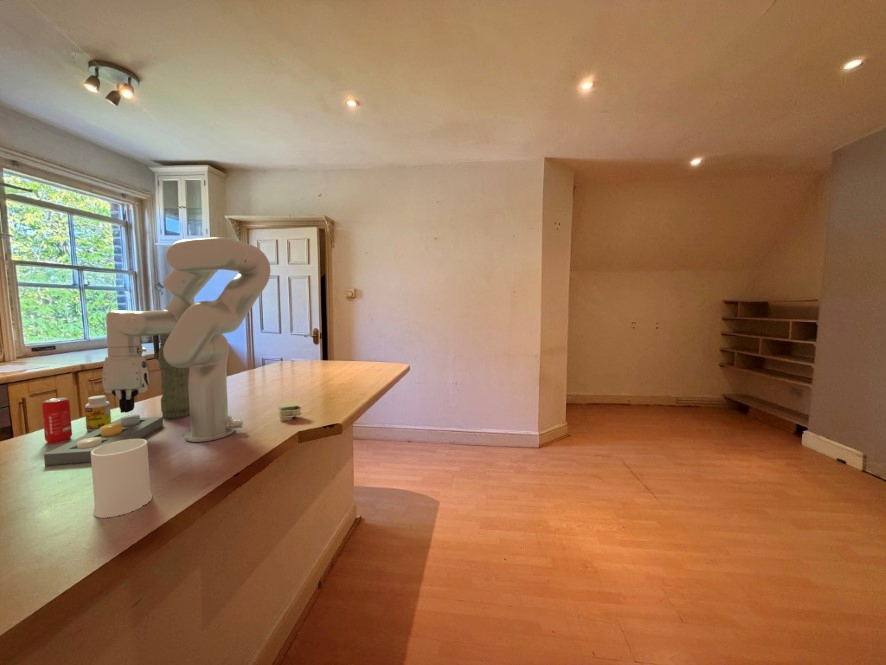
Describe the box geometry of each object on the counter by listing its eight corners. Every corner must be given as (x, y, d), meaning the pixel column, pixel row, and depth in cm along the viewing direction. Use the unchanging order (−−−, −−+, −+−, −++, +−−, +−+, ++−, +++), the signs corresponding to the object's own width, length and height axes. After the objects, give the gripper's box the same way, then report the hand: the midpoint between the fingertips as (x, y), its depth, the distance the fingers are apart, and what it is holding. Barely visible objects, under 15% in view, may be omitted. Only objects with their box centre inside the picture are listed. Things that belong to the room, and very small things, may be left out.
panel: (163, 425, 112) (162, 416, 111) (103, 461, 86) (102, 450, 86) (119, 428, 109) (118, 419, 109) (44, 466, 84) (43, 454, 83)
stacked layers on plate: (275, 426, 113) (274, 410, 113) (273, 418, 121) (272, 403, 120) (307, 421, 118) (307, 405, 118) (303, 414, 126) (303, 399, 125)
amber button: (126, 434, 100) (125, 422, 100) (115, 440, 96) (114, 428, 96) (108, 435, 99) (107, 423, 99) (96, 441, 95) (96, 429, 95)
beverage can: (54, 445, 96) (50, 402, 95) (40, 443, 97) (36, 401, 96) (77, 438, 101) (74, 398, 100) (63, 436, 102) (60, 396, 101)
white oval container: (108, 492, 73) (104, 437, 72) (159, 482, 77) (156, 430, 76) (85, 523, 62) (80, 459, 61) (146, 510, 67) (142, 450, 66)
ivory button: (106, 448, 92) (105, 436, 92) (93, 456, 88) (92, 443, 88) (86, 450, 91) (85, 437, 91) (73, 457, 87) (72, 444, 87)
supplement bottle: (81, 432, 105) (79, 399, 104) (95, 426, 111) (93, 395, 110) (103, 431, 107) (101, 398, 106) (115, 425, 112) (113, 394, 111)
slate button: (143, 424, 108) (143, 414, 108) (134, 429, 104) (133, 418, 103) (127, 425, 107) (126, 415, 107) (117, 430, 103) (116, 419, 102)
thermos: (163, 413, 124) (157, 316, 121) (201, 410, 128) (196, 316, 125) (151, 421, 116) (145, 317, 113) (192, 417, 120) (187, 317, 117)
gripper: (161, 350, 109) (162, 406, 110) (104, 349, 105) (107, 408, 107) (146, 353, 101) (148, 414, 103) (85, 353, 98) (88, 416, 100)
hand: (127, 411), depth 105 cm, fingers closed
